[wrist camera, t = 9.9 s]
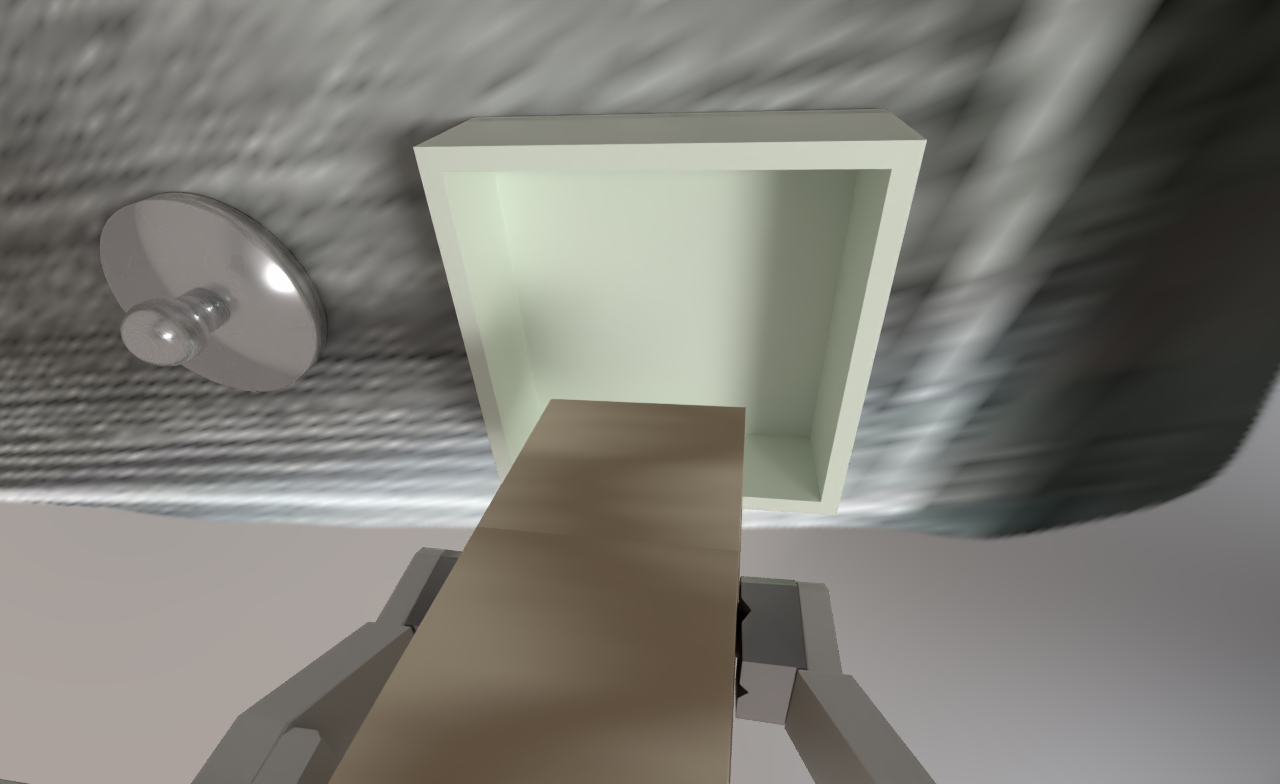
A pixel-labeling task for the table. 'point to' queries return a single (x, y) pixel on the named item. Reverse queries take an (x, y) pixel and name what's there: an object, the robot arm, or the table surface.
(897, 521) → the table surface
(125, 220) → the grey pot lid
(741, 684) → the robot arm
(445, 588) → the tan rectangular block
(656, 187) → the bin
